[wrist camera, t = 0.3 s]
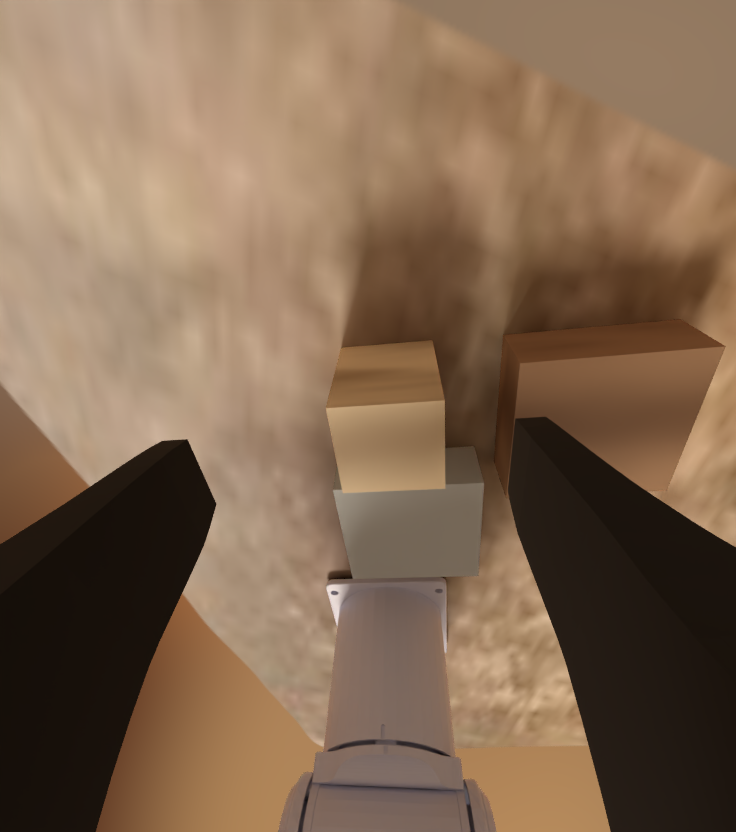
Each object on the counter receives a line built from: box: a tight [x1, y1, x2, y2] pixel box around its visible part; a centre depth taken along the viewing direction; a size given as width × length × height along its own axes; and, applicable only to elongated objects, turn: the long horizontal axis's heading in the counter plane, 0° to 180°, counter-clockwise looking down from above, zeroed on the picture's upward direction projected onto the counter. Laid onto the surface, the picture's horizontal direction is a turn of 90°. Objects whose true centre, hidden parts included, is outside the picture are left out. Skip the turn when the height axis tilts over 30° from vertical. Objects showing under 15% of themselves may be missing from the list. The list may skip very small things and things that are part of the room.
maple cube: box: [326, 340, 445, 493], centre depth 17 cm, size 4×4×5 cm
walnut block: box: [494, 319, 726, 498], centre depth 18 cm, size 7×7×3 cm
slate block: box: [333, 446, 484, 579], centre depth 22 cm, size 7×7×3 cm
